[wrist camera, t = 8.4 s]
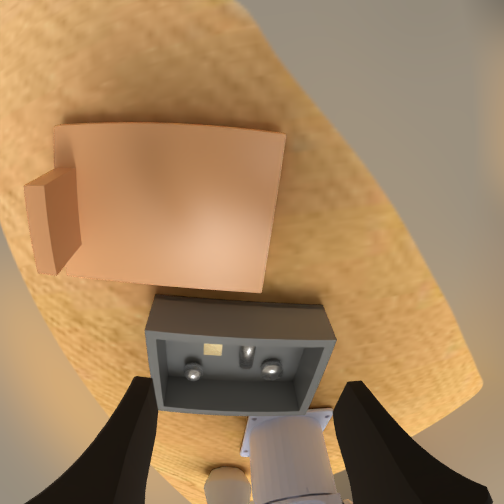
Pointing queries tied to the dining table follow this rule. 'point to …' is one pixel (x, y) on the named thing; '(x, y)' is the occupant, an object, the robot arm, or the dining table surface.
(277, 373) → the tub
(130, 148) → the lid
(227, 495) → the salt shaker
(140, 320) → the dining table surface
